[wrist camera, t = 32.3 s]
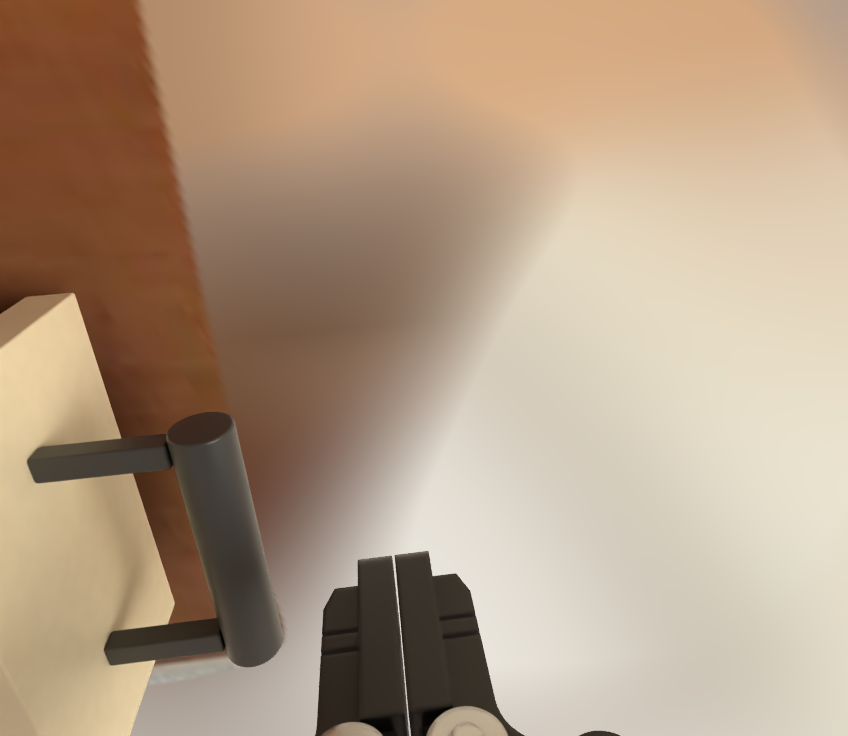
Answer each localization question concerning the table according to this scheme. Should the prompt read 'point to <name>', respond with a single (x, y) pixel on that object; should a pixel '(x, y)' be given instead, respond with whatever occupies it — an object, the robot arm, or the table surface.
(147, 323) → the table surface
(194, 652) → the drawer
